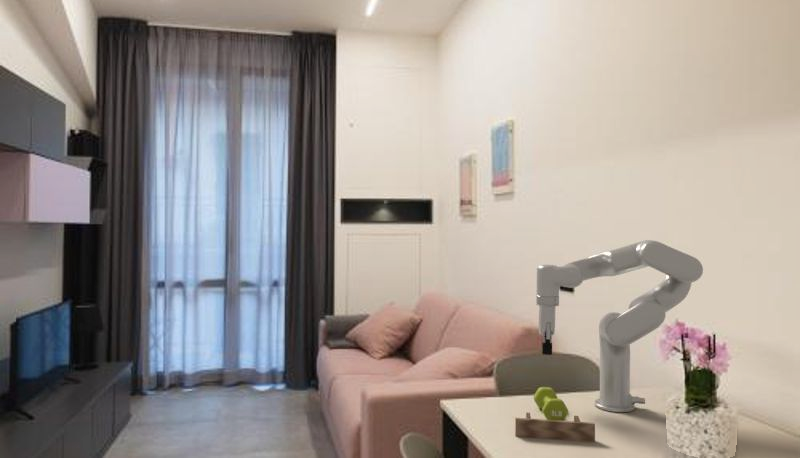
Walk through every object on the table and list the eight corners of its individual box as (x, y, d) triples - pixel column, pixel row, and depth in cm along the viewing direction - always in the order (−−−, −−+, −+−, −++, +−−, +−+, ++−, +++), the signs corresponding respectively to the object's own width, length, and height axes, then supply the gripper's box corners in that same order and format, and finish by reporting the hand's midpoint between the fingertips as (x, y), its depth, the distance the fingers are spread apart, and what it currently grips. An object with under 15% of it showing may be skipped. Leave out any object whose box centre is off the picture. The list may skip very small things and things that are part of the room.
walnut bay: (589, 428, 173) (589, 411, 173) (594, 441, 162) (595, 424, 162) (515, 423, 177) (515, 406, 177) (515, 436, 166) (515, 418, 166)
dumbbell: (569, 424, 177) (569, 401, 177) (543, 424, 177) (543, 400, 177) (556, 407, 193) (556, 386, 193) (532, 407, 193) (532, 385, 193)
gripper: (535, 297, 206) (535, 349, 206) (537, 303, 191) (536, 358, 191) (557, 298, 204) (556, 350, 204) (560, 304, 189) (560, 359, 190)
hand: (547, 354), depth 198 cm, fingers closed
